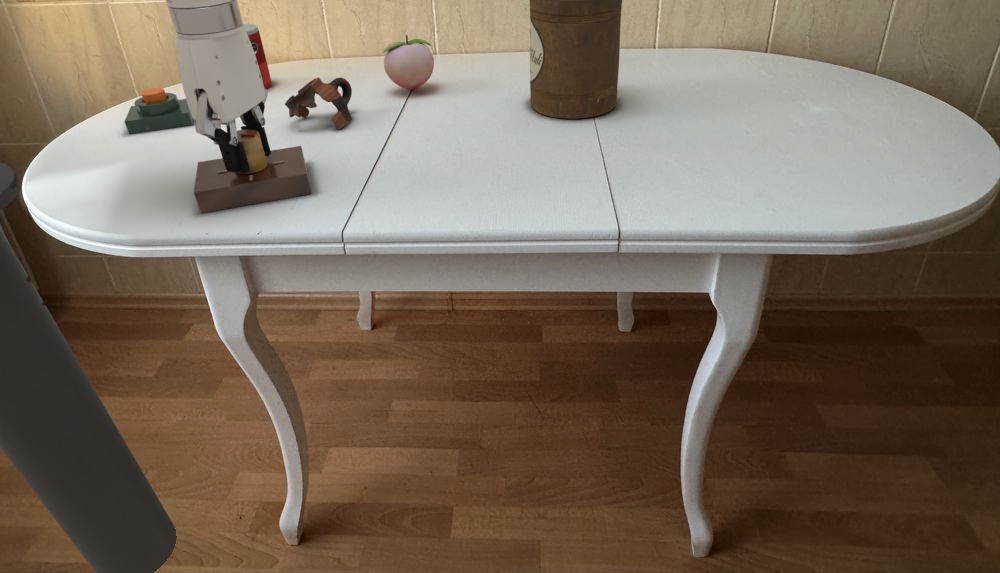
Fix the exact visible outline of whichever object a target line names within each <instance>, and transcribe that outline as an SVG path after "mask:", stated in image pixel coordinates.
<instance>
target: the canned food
mask: <svg viewBox="0 0 1000 573" xmlns="http://www.w3.org/2000/svg"><path fill="white" fill-rule="evenodd" d="M243 25H244V28H245V30H246V32H247V35H248V37H249V40H250V42H251V45H252V48H253V50H254V53H255V56H256V59H257V62H258V66H259V69H260V73H261V76H262V80H263V85H264V87H265V89H266V90H267V89H269V88H270V87H271V86H272V77H271V74H270V69H269V65H268V61H267V58H266V52H265V49H264V44H263V41H262V37H261V33H260V29H259V26H258V25H257V24H252V23H243Z"/></svg>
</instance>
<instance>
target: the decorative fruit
mask: <svg viewBox="0 0 1000 573" xmlns="http://www.w3.org/2000/svg"><path fill="white" fill-rule="evenodd" d="M428 46H430V47H432V44H431V43H430V42H429V41H427V40H425V39H421V38H413V39H410V40H409V38H408V34H405V42H404V41H394V42H391V43H389V44H387V46H385V48H384V49H383V51H382V53H385V55H384V57H383V68H384V71H385V73H386V75H387V77H388V78H389V80H390V81H392V83H394V84H395V85H397V86H398V87H400V88H402V89H404V90H408V91H410V92H412V91H415V90H416V89H418V88H419V87H421V86H423V85H424V84H425V83H427V82H428V81H429V80H430V78H431V77H432V74H433V73H434V67H435V59H434V55H433V53H432V51H431V50H430V48H428Z"/></svg>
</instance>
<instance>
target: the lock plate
mask: <svg viewBox="0 0 1000 573" xmlns="http://www.w3.org/2000/svg"><path fill="white" fill-rule="evenodd" d="M270 151H271V154H270V155H269V156H266V160H267V164H268V165H267V167H266V168H265V169H263V170H261V171H259V172H255V173H251V174H239V173H236V172H229V171H227V170H226V167H225V164H224V161H223V158H222V157H221V158H215V159H209V160H203V161H198V162H197V166H196V175H195V182H194V188H193V195H194V197H195V198H194V199H195V200H196V203H197V205H198V209H199V211H200V213H201V214H205V213H212V212H216V211H223V210H227V209H232V208H238V207H240V208H241V207H244V206H249V205H256V204H262V203H268V202H274V201H279V200H285V199H290V198H296V197H302V196H307V195H312V188H311V184H310V183H311V182H310V179H309V178H310V177H309V172H308V169H307V165H306V164H307V163H306V160H305V155H304V150H303V148H302V145H297V146H291V147H285V148H279V149H272V150H271V149H270Z"/></svg>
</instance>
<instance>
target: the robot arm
mask: <svg viewBox="0 0 1000 573" xmlns="http://www.w3.org/2000/svg"><path fill="white" fill-rule="evenodd" d="M165 3H166V6H167V9H168V12H169V16H170V18H171V22H172V24H173V27H174V30H175V34H176V38H174V47H175V48H174V49H175V56H176V63H177V68H178V72H179V78H180V81H181V86H182V88H183V93H184V96H185V99H186V100H187V103H188V106H189V109H190V112H191V115H192V117H193V119H194V121H195V133H197V134H199V135H201V136H204V137H207V138H208V139H210V140H211V141H213V144H214V145H218V148H219V151H220V154H221V158H223V161H224V164H225V167H226V170H227V171H229V172H239V173H247V172H249V171H250V167H249V164H248V160H247V157H246V153H245V150H244V147H243V144H242V143H240V142H238V137H237V131H238V130H237V123H236V119H238V118H240V120H241V122H242V126H240V130H245V129H252V130H256V131H258V132H259V134H260V138H261V142H262V145H263V149H264V153H265V156H269V155H270V154H271V148H270V144H269V141H268V137H267V133H266V129H265V125H266V119H265V116H264V114H265V109H266V106H265V104H266V101H267V98H268V95H269V94H268V93H269V92H268V90H267V89H265V87H264V85H263V80H262V76H261V73H260V69H259V66H258V62H257V59H256V56H255V53H254V50H253V48H252V45H251V42H250V40H249V37H248V35H247V32H246V30H245V28H244V25H243V24H244V22H243V18H242V15H241V11H240V7H239V3H238V0H165ZM221 125H223V126H225V127H226V131H225V130H224V129H222V126H221Z"/></svg>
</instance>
